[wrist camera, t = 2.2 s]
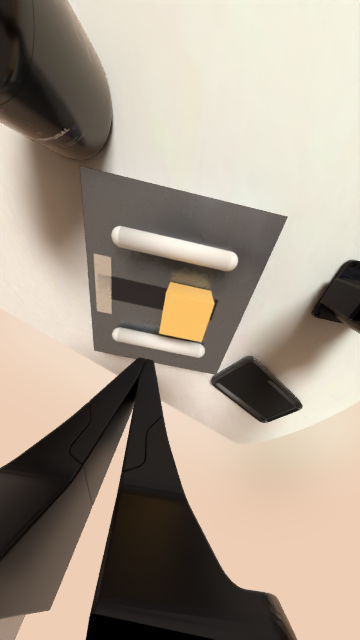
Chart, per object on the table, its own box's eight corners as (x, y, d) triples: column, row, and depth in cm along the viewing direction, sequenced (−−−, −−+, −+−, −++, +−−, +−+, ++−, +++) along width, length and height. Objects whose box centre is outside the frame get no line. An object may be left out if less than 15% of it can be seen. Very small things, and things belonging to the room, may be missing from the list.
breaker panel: (272, 217, 15) (288, 216, 13) (213, 358, 25) (215, 375, 22) (99, 175, 15) (79, 165, 12) (104, 336, 24) (93, 350, 21)
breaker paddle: (211, 290, 16) (214, 303, 13) (200, 325, 18) (201, 342, 15) (170, 281, 16) (165, 293, 13) (164, 317, 18) (159, 333, 15)
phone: (263, 424, 31) (209, 382, 26) (261, 418, 32) (208, 376, 27) (305, 407, 28) (253, 356, 23) (302, 401, 29) (250, 351, 24)
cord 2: (238, 252, 14) (243, 255, 13) (231, 270, 15) (235, 275, 14) (116, 223, 14) (107, 223, 13) (116, 244, 15) (107, 246, 13)
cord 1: (206, 342, 19) (207, 351, 18) (202, 352, 20) (203, 361, 19) (115, 323, 19) (109, 331, 18) (115, 334, 20) (109, 342, 18)
